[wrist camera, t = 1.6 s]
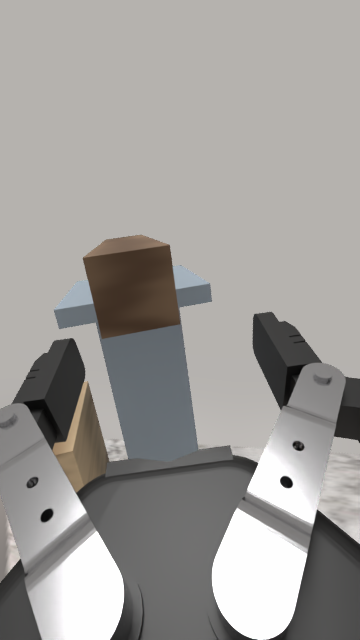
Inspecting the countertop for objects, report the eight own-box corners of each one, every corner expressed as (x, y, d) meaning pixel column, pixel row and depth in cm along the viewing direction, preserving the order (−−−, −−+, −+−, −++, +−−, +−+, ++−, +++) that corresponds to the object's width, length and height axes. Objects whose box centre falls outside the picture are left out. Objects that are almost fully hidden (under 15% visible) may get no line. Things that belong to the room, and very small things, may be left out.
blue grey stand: (206, 471, 45) (180, 265, 34) (235, 553, 33) (210, 283, 23) (129, 492, 43) (77, 281, 32) (132, 585, 32) (53, 310, 21)
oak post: (123, 512, 40) (87, 381, 33) (123, 611, 30) (72, 450, 23) (86, 522, 39) (42, 390, 32) (73, 627, 29) (5, 466, 22)
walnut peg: (146, 269, 34) (141, 234, 33) (180, 324, 15) (169, 245, 14) (113, 274, 34) (105, 239, 33) (101, 339, 14) (82, 257, 13)
